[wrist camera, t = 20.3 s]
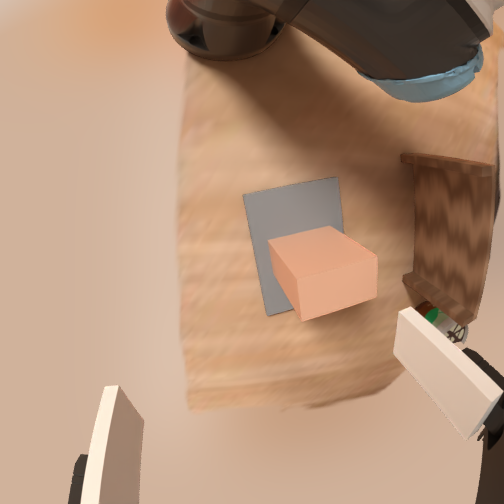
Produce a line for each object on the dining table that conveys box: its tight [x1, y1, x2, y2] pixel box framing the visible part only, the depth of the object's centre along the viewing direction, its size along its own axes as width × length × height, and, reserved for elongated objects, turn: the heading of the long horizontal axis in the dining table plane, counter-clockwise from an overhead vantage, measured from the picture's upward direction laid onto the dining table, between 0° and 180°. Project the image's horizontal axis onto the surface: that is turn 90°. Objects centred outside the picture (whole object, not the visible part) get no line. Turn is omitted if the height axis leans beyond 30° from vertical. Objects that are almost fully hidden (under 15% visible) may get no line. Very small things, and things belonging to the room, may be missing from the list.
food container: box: [414, 301, 468, 343], centre depth 45 cm, size 12×6×10 cm, turn 82°
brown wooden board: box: [401, 153, 495, 328], centre depth 34 cm, size 22×4×16 cm, turn 11°
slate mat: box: [243, 177, 344, 316], centre depth 39 cm, size 18×13×1 cm
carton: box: [268, 226, 378, 322], centre depth 33 cm, size 5×9×12 cm, turn 101°
